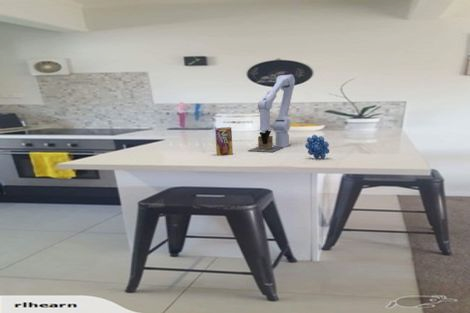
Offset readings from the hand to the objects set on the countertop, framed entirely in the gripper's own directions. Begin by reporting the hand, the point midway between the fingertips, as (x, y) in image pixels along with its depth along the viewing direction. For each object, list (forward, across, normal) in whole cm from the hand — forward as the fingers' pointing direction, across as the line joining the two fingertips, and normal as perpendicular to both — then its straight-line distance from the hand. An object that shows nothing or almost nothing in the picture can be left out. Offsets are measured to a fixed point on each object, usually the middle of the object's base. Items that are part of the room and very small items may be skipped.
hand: (265, 143), depth 197 cm
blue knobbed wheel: (+4, -27, -30) cm, 40 cm away
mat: (+4, 0, 0) cm, 4 cm away
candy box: (+4, -16, +21) cm, 27 cm away
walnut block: (+2, 0, 0) cm, 2 cm away
